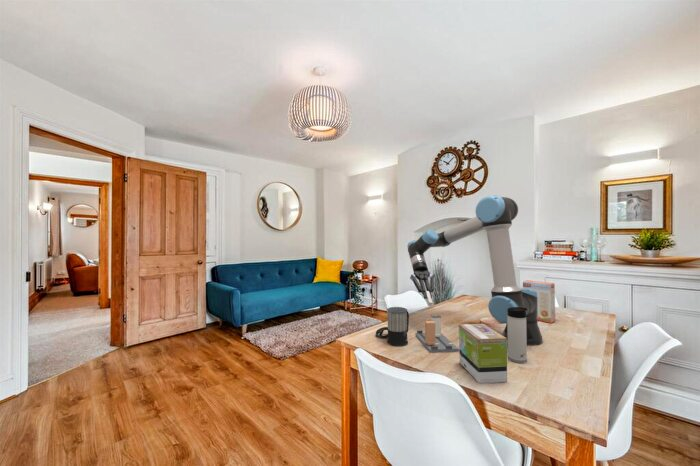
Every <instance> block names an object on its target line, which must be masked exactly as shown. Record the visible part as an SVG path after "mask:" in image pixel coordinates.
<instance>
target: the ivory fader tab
mask: <svg viewBox="0 0 700 466" xmlns="http://www.w3.org/2000/svg"><path fill="white" fill-rule="evenodd" d="M430 315H431V316H430V321H434V322H435V337H440V335H441V333H442V316H441V315H440V314H430Z"/></svg>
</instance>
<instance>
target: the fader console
mask: <svg viewBox="0 0 700 466" xmlns="http://www.w3.org/2000/svg"><path fill="white" fill-rule="evenodd" d="M415 335H416V336H415V337H416V338H417V339H418V341H419V342H420V341H421V342H420V343H421V344H422V345H423V346H424V348H425V349H426V350H427V351H428V352H429V353H430V354H431V353H433V354H436V353H437V354H438V353H459V347H458V346H457V345H455V344H454V343H453V342H452V341H451V340H450V339H449V338H447V336H445V335H444V334H443V333H442V332H441V335H440V337H435V322H434V321H431V320H429V321H428V320H426V321H424V332H423V330H422V329H421V330H420V329H418V330H416V332H415Z"/></svg>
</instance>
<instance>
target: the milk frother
mask: <svg viewBox="0 0 700 466" xmlns="http://www.w3.org/2000/svg"><path fill="white" fill-rule="evenodd" d="M386 311H387V312H386V313H387V326H384V327H380V328H378V329H377V330H376V331H375V336H376V337H378V338H380V339H387V340H386V342H387V344H388V345H390V346H393V347H405V346H406V345H408V344H409V341H408V333H409V322H410V321H409V319H410V317H409V316H410V313H409V310H408V309H407V308H406V307H402V306H391V307H388V308H386ZM384 331H387V334H384V335H383V333H384Z"/></svg>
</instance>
